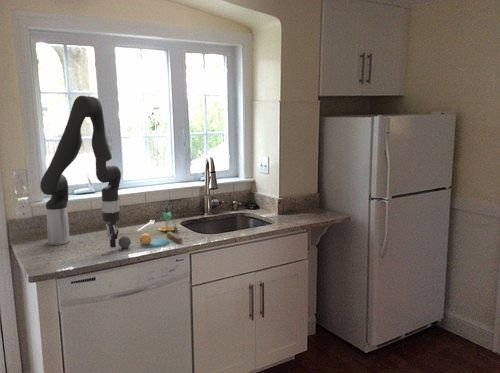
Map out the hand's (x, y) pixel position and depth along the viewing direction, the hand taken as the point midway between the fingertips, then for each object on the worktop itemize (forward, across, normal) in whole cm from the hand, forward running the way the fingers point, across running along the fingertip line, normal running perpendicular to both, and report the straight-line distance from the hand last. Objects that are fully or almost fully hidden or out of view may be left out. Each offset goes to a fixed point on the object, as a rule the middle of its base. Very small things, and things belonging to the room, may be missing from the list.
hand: (113, 247), depth 202 cm
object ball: (-1, 0, +15) cm, 15 cm away
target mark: (+2, 0, +20) cm, 20 cm away
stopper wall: (+2, 0, +30) cm, 30 cm away
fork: (+2, -33, +27) cm, 42 cm away
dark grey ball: (-1, -1, +6) cm, 6 cm away
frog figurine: (+2, -18, +34) cm, 39 cm away
